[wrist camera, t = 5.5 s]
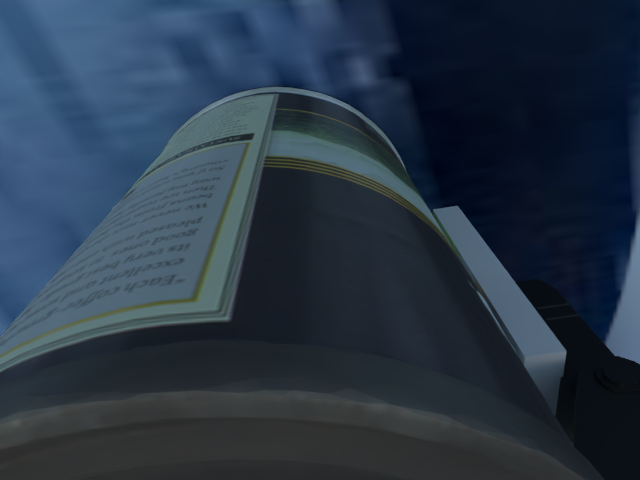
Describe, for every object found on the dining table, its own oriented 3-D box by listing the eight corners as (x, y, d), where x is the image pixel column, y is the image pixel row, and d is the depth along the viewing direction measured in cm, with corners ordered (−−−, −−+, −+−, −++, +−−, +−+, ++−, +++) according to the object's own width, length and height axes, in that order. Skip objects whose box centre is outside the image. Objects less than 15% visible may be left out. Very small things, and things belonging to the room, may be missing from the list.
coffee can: (428, 82, 16) (864, 391, 4) (400, 323, 21) (550, 808, 9) (123, 81, 16) (-539, 423, 3) (166, 326, 21) (-36, 843, 8)
